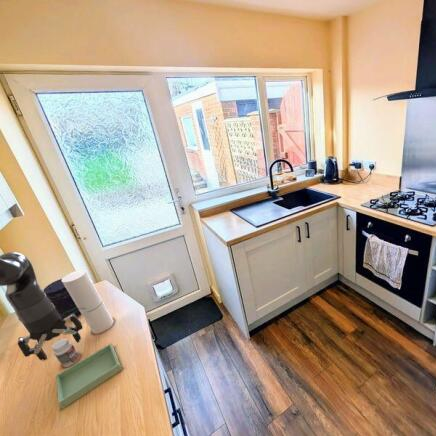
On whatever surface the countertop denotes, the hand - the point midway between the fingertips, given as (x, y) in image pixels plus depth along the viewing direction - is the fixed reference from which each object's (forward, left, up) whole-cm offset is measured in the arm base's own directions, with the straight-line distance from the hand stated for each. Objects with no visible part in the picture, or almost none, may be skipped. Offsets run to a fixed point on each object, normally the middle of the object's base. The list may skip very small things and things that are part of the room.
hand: (62, 349), depth 82 cm
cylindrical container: (+11, +10, -6) cm, 17 cm away
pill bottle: (0, +1, -7) cm, 6 cm away
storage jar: (+4, +31, -6) cm, 32 cm away
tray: (+4, -12, -6) cm, 14 cm away
